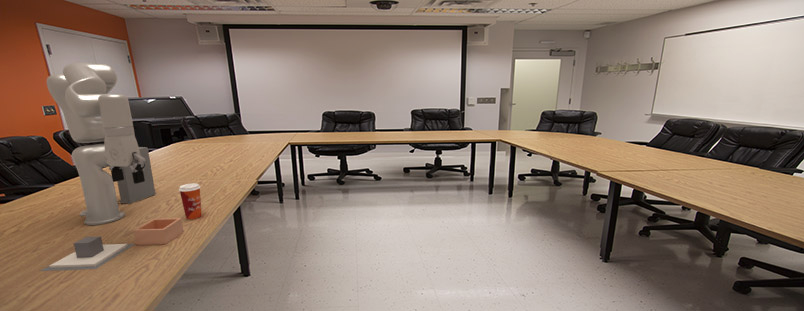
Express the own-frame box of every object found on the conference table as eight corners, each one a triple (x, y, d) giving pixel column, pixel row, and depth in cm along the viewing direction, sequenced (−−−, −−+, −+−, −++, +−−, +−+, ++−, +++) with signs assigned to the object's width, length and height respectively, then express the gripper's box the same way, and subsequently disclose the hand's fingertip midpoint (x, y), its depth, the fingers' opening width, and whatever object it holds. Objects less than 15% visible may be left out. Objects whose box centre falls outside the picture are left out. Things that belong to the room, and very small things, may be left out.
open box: (136, 246, 112) (133, 230, 111) (156, 233, 122) (153, 218, 120) (166, 245, 112) (163, 229, 111) (183, 232, 122) (181, 218, 121)
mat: (39, 272, 96) (39, 270, 96) (87, 246, 112) (87, 245, 112) (96, 270, 97) (95, 268, 97) (135, 245, 113) (135, 243, 113)
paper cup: (194, 221, 133) (189, 188, 130) (178, 219, 134) (173, 187, 132) (208, 214, 140) (204, 183, 138) (193, 212, 142) (189, 182, 139)
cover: (49, 268, 98) (45, 250, 96) (87, 247, 110) (84, 231, 109) (94, 266, 98) (91, 248, 97) (127, 245, 111) (124, 230, 110)
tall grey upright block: (145, 194, 168) (137, 147, 162) (156, 194, 167) (148, 147, 162) (119, 203, 154) (109, 152, 149) (130, 204, 153) (121, 152, 148)
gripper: (87, 133, 106) (98, 183, 109) (126, 134, 101) (136, 186, 105) (113, 130, 113) (122, 177, 116) (150, 131, 108) (158, 180, 112)
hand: (129, 181), depth 111 cm, fingers open, 9 cm apart
